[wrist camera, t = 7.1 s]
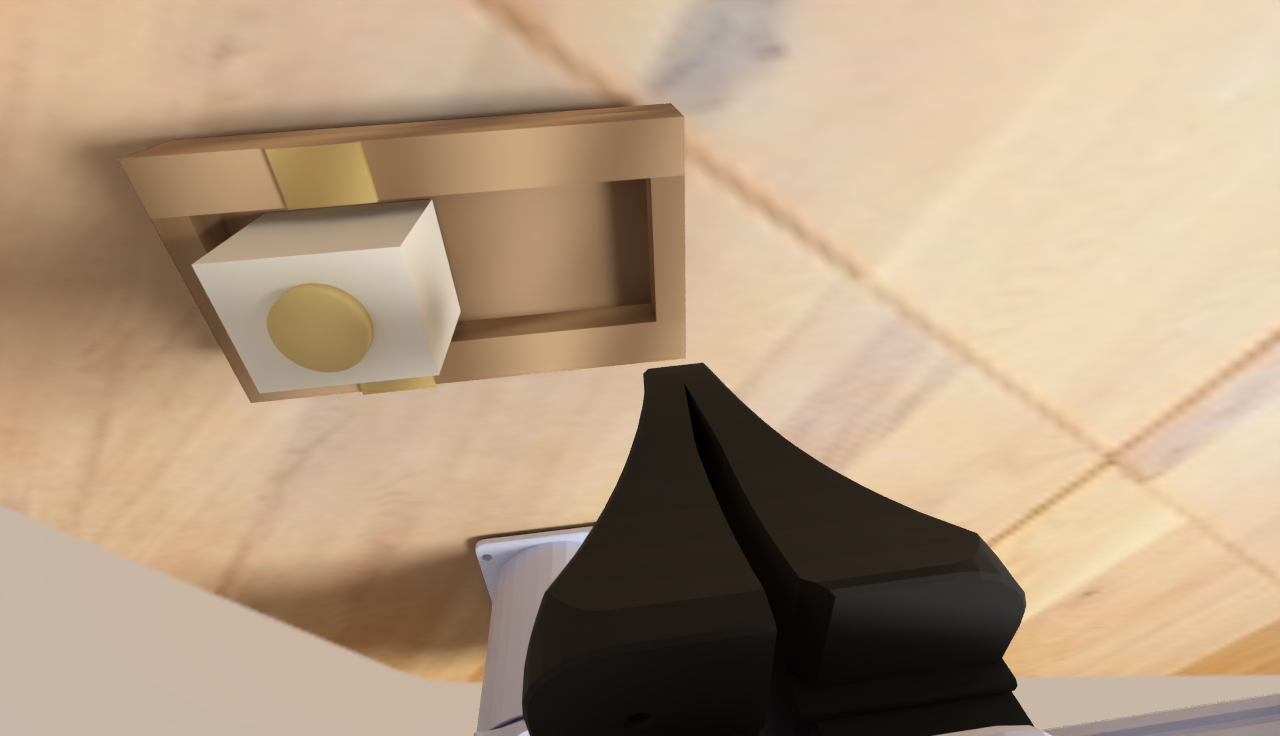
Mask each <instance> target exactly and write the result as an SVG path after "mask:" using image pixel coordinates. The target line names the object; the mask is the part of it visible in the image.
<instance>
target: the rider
mask: <svg viewBox="0 0 1280 736" xmlns="http://www.w3.org/2000/svg"><path fill="white" fill-rule="evenodd" d="M192 267H193V269H194V271H195V273H196V275H197V276H198V278H199V280H200V282H201V284H202V286H203V288H204V290H205V292H206V293H207V295H208V297H209V299H210V301H211V303H212V305H213V307H214V309H215V310H216V312H217V314H218V316H219V318H220V320H221V322H222V324H223V326H224V327H225V329H226V331H227V333H228V335H229V337H230V339H231V341H232V342H233V344H234V346H235V348H236V350H237V352H238V354H239V356H240V358H241V359H242V361H243V363H244V365H245V367H246V369H247V371H248V373H249V375H250V376H251V378H252V380H253V382H254V384H255V386H256V388H257V390H258V392H259V393H269V392H279V391H289V390H299V389H309V388H319V387H328V386H338V385H348V384H358V383H368V382H377V381H387V380H397V379H407V378H417V377H427V376H436V375H439V374H440V371H441V368H442V365H443V362H444V359H445V356H446V353H447V350H448V347H449V344H450V342H451V339H452V336H453V333H454V330H455V327H456V324H457V321H458V318H459V315H460V312H461V310H460V306H459V302H458V298H457V294H456V291H455V287H454V283H453V279H452V275H451V271H450V267H449V263H448V259H447V256H446V252H445V248H444V244H443V240H442V236H441V232H440V228H439V224H438V221H437V217H436V213H435V209H434V205H433V201H432V199H430V200H418V201H406V202H394V203H382V204H370V205H357V206H345V207H333V208H321V209H309V210H297V211H284V212H272V213H264V214H263V215H261V216H260V217H259V218H257V219H256V220H254V221H253V222H251V223H250V224H249V225H247V226H246V227H244V228H243V229H242V230H240V231H239V232H237V233H236V234H234V235H233V236H232V237H230V238H229V239H227V240H226V241H224V242H223V243H222V244H220V245H219V246H217V247H216V248H214V249H213V250H212V251H210V252H209V253H207V254H206V255H205V256H203V257H202V258H200V259H199V260H197V261H196V262H195V263H193V264H192Z"/></svg>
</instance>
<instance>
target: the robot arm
mask: <svg viewBox="0 0 1280 736" xmlns="http://www.w3.org/2000/svg"><path fill="white" fill-rule="evenodd" d="M643 376H644V391H645V392H644V400H643V407H642V411H641V416H640V420H639V425H638V428H637V432H636V435H635V438H634V441H633V444H632V447H631V450H630V453H629V456H628V459H627V461H626V464H625V466H624V469H623V471H622V473H621V476H620V478H619V480H618V482H617V485H616V487H615V489H614V491H613V492H612V494H611V496H610V498H609V500H608V502H607V504H606V506H605V508H604V510H603V511H602V513H601V515H600V517H599V518H598V520H597V522H596V523H595V525H594V526H590V527H581V528H573V529H565V530H557V531H548V532H540V533H532V534H523V535H515V536H507V537H499V538H490V539H483V540H480V541H478V542H477V544H476V547H475V552H476V555H477V559H478V562H479V565H480V568H481V571H482V574H483V577H484V580H485V583H486V586H487V589H488V592H489V595H490V598H491V601H492V612H491V620H490V628H489V636H488V644H487V652H486V661H485V669H484V677H483V685H482V693H481V701H480V710H479V718H478V726H477V732H475V733H474V736H1280V693H1274V694H1268V695H1262V696H1255V697H1249V698H1242V699H1236V700H1230V701H1223V702H1217V703H1211V704H1204V705H1198V706H1191V707H1185V708H1179V709H1173V710H1165V711H1160V712H1153V713H1147V714H1140V715H1133V716H1127V717H1121V718H1114V719H1108V720H1101V721H1095V722H1089V723H1082V724H1076V725H1070V726H1063V727H1057V728H1050V729H1044V730H1040V729H1037V728H1035V727H1034V725H1033V724H1032V722H1031V721H1030V719H1029V718H1028V716H1027V715H1026V713H1025V712H1024V710H1023V709H1022V707H1021V705H1020V704H1019V702H1018V701H1017V699H1016V698H1015V696H1014V695H1013V693H1012V691H1014V690H1015V689H1016V687H1017V682H1016V678H1015V677H1014V675H1013V674H1012V672H1011V671H1010V669H1009V668H1008V666H1007V665H1006V663H1005V662H1004V660H1003V659H1002V657H1003V655H1004V653H1005V651H1006V649H1007V648H1008V646H1009V644H1010V642H1011V640H1012V638H1013V637H1014V635H1015V633H1016V631H1017V629H1018V627H1019V626H1020V623H1021V620H1022V618H1023V615H1024V612H1025V608H1026V599H1025V592H1024V591H1023V590H1022V588H1021V587H1020V586H1019V585H1018V583H1017V582H1016V581H1015V579H1014V578H1013V577H1012V575H1011V574H1010V573H1009V571H1008V570H1007V569H1006V567H1005V566H1004V565H1003V563H1002V562H1001V561H1000V559H999V558H998V557H997V555H996V554H995V553H994V552H993V551H992V550H991V549H990V547H989V546H988V545H987V544H986V543H985V542H984V541H983V539H982V538H981V537H980V536H979V535H978V534H977V533H975V532H972V531H969V530H967V529H964V528H961V527H959V526H956V525H953V524H950V523H948V522H945V521H942V520H940V519H937V518H934V517H931V516H929V515H926V514H923V513H921V512H918V511H916V510H913V509H911V508H909V507H907V506H904V505H902V504H900V503H898V502H895V501H893V500H891V499H889V498H886V497H884V496H882V495H880V494H878V493H876V492H874V491H872V490H870V489H868V488H866V487H864V486H862V485H860V484H858V483H856V482H854V481H852V480H851V479H849V478H847V477H845V476H843V475H841V474H840V473H838V472H836V471H834V470H832V469H831V468H829V467H827V466H826V465H824V464H822V463H821V462H819V461H818V460H816V459H815V458H813V457H811V456H810V455H808V454H807V453H805V452H804V451H802V450H801V449H799V448H798V447H796V446H795V445H793V444H792V443H791V442H789V441H788V440H787V439H785V438H784V437H783V436H781V435H780V434H779V433H778V432H776V431H775V430H774V429H773V428H771V427H770V426H769V425H768V424H767V423H765V422H764V421H763V420H762V419H761V418H759V417H758V416H757V415H756V414H755V413H754V412H753V411H752V410H751V409H750V408H748V407H747V406H746V405H745V404H744V403H743V402H742V401H741V400H740V399H739V398H738V397H737V396H736V395H735V394H734V393H733V392H732V391H731V390H730V389H729V388H727V387H726V386H725V384H724V383H723V382H722V381H721V380H720V379H719V378H718V377H717V376H716V375H715V374H714V373H713V372H712V371H711V370H710V369H709V368H708V367H707V366H706V365H705V364H704V363H697V364H688V365H679V366H670V367H661V368H652V369H648V370H647V371H646V372H645V373H644V374H643ZM488 554H489V555H488Z"/></svg>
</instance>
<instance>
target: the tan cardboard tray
mask: <svg viewBox="0 0 1280 736" xmlns="http://www.w3.org/2000/svg"><path fill="white" fill-rule="evenodd" d="M118 161H119V163H120V164H121V166H122V168H123V170H124V172H125V174H126V175H127V177H128V179H129V181H130V183H131V185H132V186H133V188H134V190H135V192H136V194H137V195H138V197H139V199H140V201H141V203H142V205H143V206H144V208H145V210H146V212H147V214H148V216H149V217H150V219H151V221H152V223H153V225H154V227H155V228H156V230H157V232H158V234H159V236H160V238H161V239H162V241H163V243H164V245H165V247H166V248H167V250H168V252H169V254H170V256H171V258H172V259H173V261H174V263H175V265H176V267H177V269H178V270H179V272H180V274H181V276H182V278H183V280H184V281H185V283H186V285H187V287H188V289H189V291H190V292H191V294H192V296H193V298H194V300H195V301H196V303H197V305H198V307H199V309H200V311H201V312H202V314H203V316H204V318H205V320H206V322H207V323H208V325H209V327H210V329H211V331H212V333H213V334H214V336H215V338H216V340H217V342H218V344H219V345H220V347H221V349H222V351H223V353H224V354H225V356H226V358H227V360H228V362H229V364H230V365H231V367H232V369H233V371H234V373H235V375H236V376H237V378H238V380H239V382H240V384H241V386H242V387H243V389H244V391H245V393H246V395H247V397H248V398H249V400H250V402H251V403H255V402H265V401H275V400H284V399H294V398H304V397H314V396H323V395H333V394H343V393H352V392H363V395H364V394H374V393H384V392H393V391H403V390H413V389H422V388H432V387H435V385H436V384H440V383H450V382H460V381H469V380H479V379H489V378H498V377H508V376H518V375H528V374H537V373H547V372H557V371H567V370H576V369H586V368H596V367H605V366H615V365H625V364H635V363H644V362H654V361H664V360H674V359H683V358H686V322H685V172H684V116H683V115H682V114H681V113H680V112H679V111H678V110H677V109H676V108H675V107H674V106H673V105H672V104H671V103H670V104H656V105H642V106H629V107H615V108H602V109H588V110H574V111H561V112H547V113H534V114H520V115H507V116H493V117H479V118H466V119H452V120H439V121H425V122H411V123H398V124H384V125H371V126H357V127H343V128H330V129H316V130H303V131H289V132H276V133H262V134H248V135H235V136H221V137H208V138H194V139H180V140H171V141H168V142H165V143H162V144H159V145H156V146H154V147H151V148H148V149H145V150H142V151H139V152H137V153H134V154H131V155H128V156H125V157H122V158H119V159H118ZM430 199H432V201H433V205H434V209H435V213H436V217H437V221H438V224H439V228H440V232H441V236H442V240H443V244H444V248H445V252H446V256H447V259H448V263H449V267H450V271H451V275H452V279H453V283H454V287H455V291H456V294H457V298H458V302H459V306H460V310H461V312H460V315H459V318H458V321H457V324H456V327H455V330H454V333H453V336H452V339H451V342H450V344H449V347H448V350H447V353H446V356H445V359H444V362H443V365H442V368H441V371H440V374H439V375H436V376H427V377H417V378H407V379H397V380H387V381H377V382H368V383H358V384H348V385H338V386H328V387H319V388H309V389H299V390H289V391H279V392H269V393H259V392H258V390H257V388H256V386H255V384H254V382H253V380H252V378H251V376H250V375H249V373H248V371H247V369H246V367H245V365H244V363H243V361H242V359H241V358H240V356H239V354H238V352H237V350H236V348H235V346H234V344H233V342H232V341H231V339H230V337H229V335H228V333H227V331H226V329H225V327H224V326H223V324H222V322H221V320H220V318H219V316H218V314H217V312H216V310H215V309H214V307H213V305H212V303H211V301H210V299H209V297H208V295H207V293H206V292H205V290H204V288H203V286H202V284H201V282H200V280H199V278H198V276H197V275H196V273H195V271H194V269H193V267H192V264H193V263H195V262H196V261H197V260H199V259H200V258H202V257H203V256H205V255H206V254H207V253H209V252H210V251H212V250H213V249H214V248H216V247H217V246H219V245H220V244H222V243H223V242H224V241H226V240H227V239H229V238H230V237H232V236H233V235H234V234H236V233H237V232H239V231H240V230H242V229H243V228H244V227H246V226H247V225H249V224H250V223H251V222H253V221H254V220H256V219H257V218H259V217H260V216H261V215H263V214H264V213H272V212H284V211H297V210H309V209H321V208H333V207H345V206H357V205H370V204H382V203H394V202H406V201H418V200H430Z"/></svg>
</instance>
